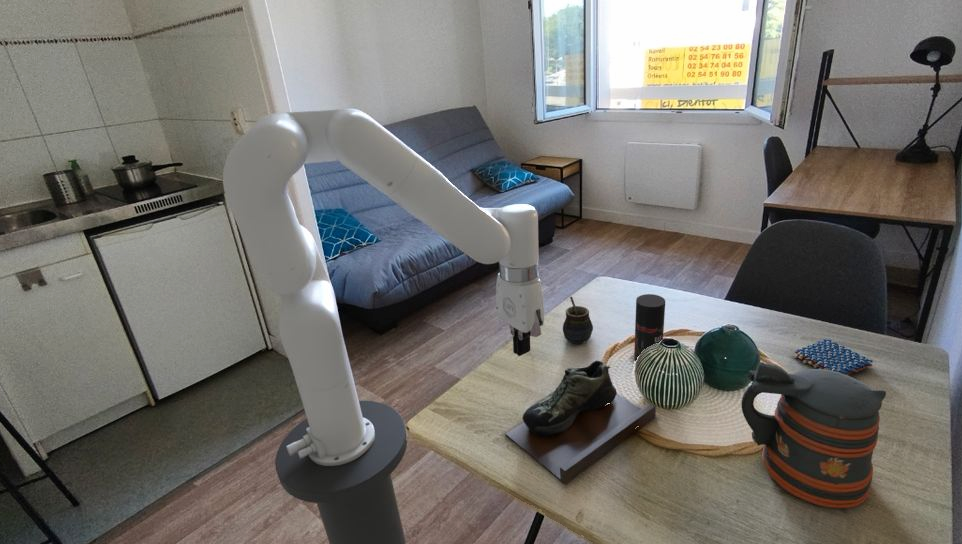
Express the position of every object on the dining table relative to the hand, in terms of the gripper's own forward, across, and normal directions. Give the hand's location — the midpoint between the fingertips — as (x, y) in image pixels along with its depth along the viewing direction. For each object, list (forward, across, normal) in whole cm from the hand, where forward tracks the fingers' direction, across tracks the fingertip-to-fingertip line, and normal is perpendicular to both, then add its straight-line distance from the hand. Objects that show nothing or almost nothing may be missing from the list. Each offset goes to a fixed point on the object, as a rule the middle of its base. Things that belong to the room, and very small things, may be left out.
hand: (522, 352), depth 103 cm
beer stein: (+9, +46, +19) cm, 51 cm away
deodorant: (+9, +10, +28) cm, 31 cm away
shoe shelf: (+10, +16, +1) cm, 18 cm away
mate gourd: (+10, -7, +23) cm, 26 cm away
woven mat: (+8, +37, +54) cm, 66 cm away
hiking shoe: (+10, +12, +2) cm, 15 cm away
